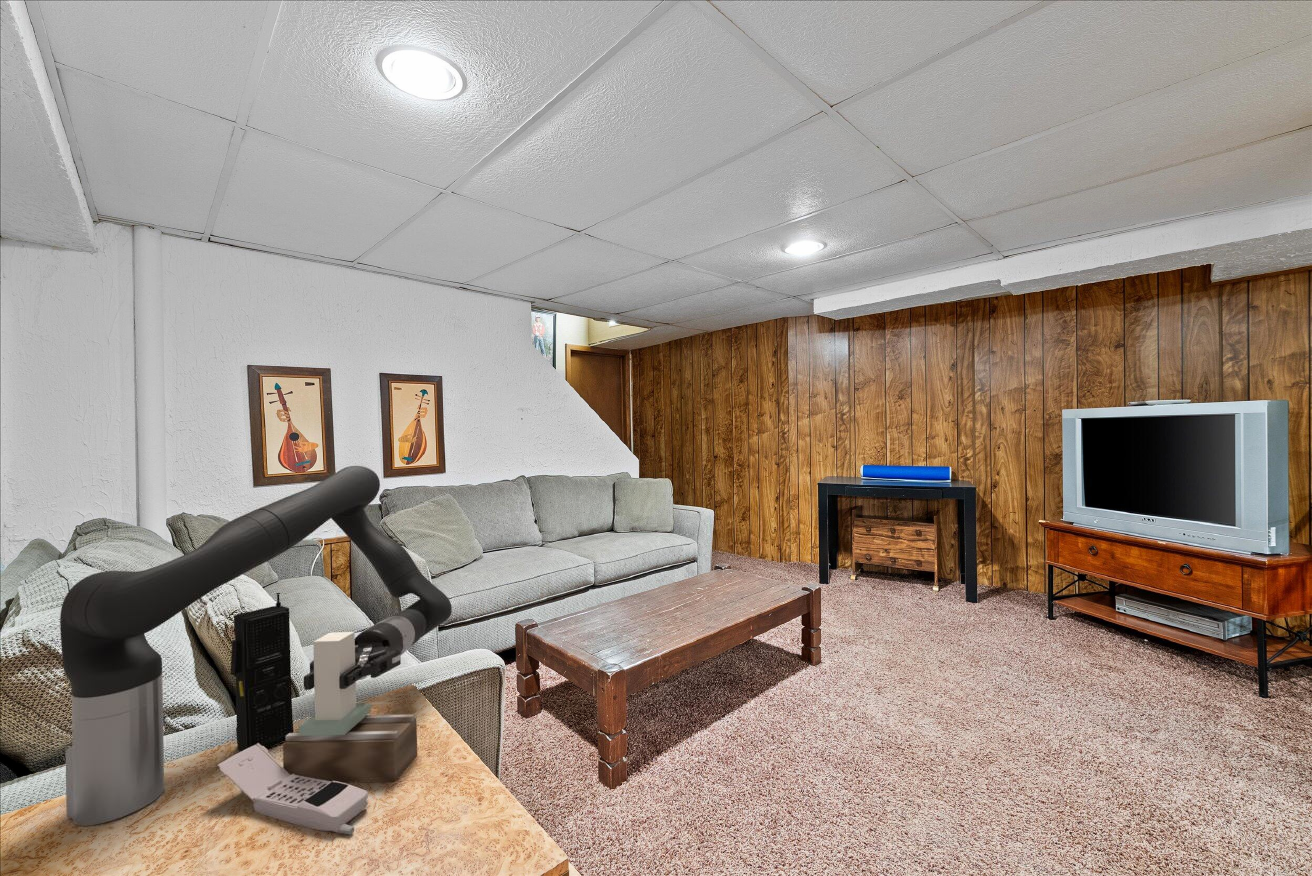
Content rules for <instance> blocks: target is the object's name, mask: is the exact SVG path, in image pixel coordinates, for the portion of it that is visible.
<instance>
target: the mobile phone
mask: <svg viewBox="0 0 1312 876" xmlns="http://www.w3.org/2000/svg"><path fill="white" fill-rule="evenodd" d="M217 766H218V767H219V769H220V771H221V773H223V774H224V775H226V776H227V777H228V779H229V780H230V781H231V782H232V783H233V784H234V785H235V786H237V788H238V789H240V790H241V791H242V793H244V794H245V795H246V796H247V797H248V798H249V799H250V800H251V801H252V802H253V808H254V810H255V812H256V813H257V814H260V815H264V816H267V817H270V818H273V819H277V820H280V821H282V822H287V823H289V824H290V823H291V824H294V825H297V826H299V827H300V826H301V827H304V828H307V829H308V828H309V829H312V830H317V831H321V832H335V833H337V834H346V835H352V834H353V833H354V832H355V827H354V826H352V825H348V824H347V823H348V822H349V821H350V820H352V819H353V818H355V817H356V816H357V815H359V814H360V813H361V812H362V811H364V810H365V809H366V808H367V806H368V803H369V801H368V796H369V795H368V791H367V790H365V789H363V788H360V787H357V786H356V785H351V784H350V783H342V782H337V781H332V782H331V781H326V780H320V779H314V778H309V777H303V776H298V775H294V774H291V775H290V774H289V773H288V772H287V771H286V770H285V769H284V768H283V766H282V765H281V764H280V763H279V762H278V761H277V760H276V759H275V757H273V755H272V754H270V753H269V750H268V749H266V748H265V747H264V746H261V745H260V744H259V743H258V744H256V745H254V746H252V747H249V748H247V749H245V750H243V751H239V752H238V753H236V754H234V755H232V756H230V757H229V758H227V759H225V760H224V761H222V762H220V763H218V764H217Z"/></svg>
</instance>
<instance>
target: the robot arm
mask: <svg viewBox="0 0 1312 876" xmlns="http://www.w3.org/2000/svg"><path fill="white" fill-rule="evenodd" d="M380 482H381V481H380V478H379V476H378V474H377V473H376V472H375V470H373V469H371V468H368V467H366V466H363V465H351V466H346V467H344V468H341V469H340V470H338V471H337V472H335V473H333V474H332V475H330V476H329V477H327V478H325V479H323V480H322V481H320V482H318V483H316V484H314V485H313V486H312V485H311V487H308V488H306V489H303V490H300V491H298V492H296V493H293V494H291V495H288V496H285V497H283V498H280V499H278V500H276V501H274V502H271V503H269V504H267V505H264V506H262V507H259V508H256V509H254V510H252V511H249V512H247V513H245V514H243V515H240V516H239V517H236V518H234V519H232V520H230V521H229V522H227V523H225V524H224V525H222V526H221V527H220V528H218V529H217V530H216V531H214V532H213V534H211V536H210V537H208V539H206V540H205V541H204V542H203V543H202V544H201V545H200V546H198V547H196V548H195V549H194V550H192V551H190V552H188V553H185V554H183V555H181V556H179V557H177V558H174V559H172V560H170V561H167V562H165V563H162V564H159V565H156V566H153V567H151V568H147V569H144V570H140V571H132V570H131V571H129V570H127V571H126V570H106V571H100V572H96V573H93V574H89V575H88V576H86V577H84V578H81V580H79V581H78V582H76V583H75V584H74V585H73V586H71V588H70V589H69V591H68V592H67V593H66V595H65V598H64V600H63V602H62V605H61V608H60V616H59V622H60V623H59V625H60V626H59V628H60V630H59V631H60V643H61V645H60V646H61V656H62V658H61V659H62V660H61V661H62V666H63V670H64V671H63V672H64V673H65V676H66V677H67V679H68V681H69V683H70V687H71V688H70V689H71V690H70V691H71V721H72V722H71V730H72V731H71V733H72V734H71V737H72V738H71V739H72V742H71V743H72V745H70V746H69V747H68V748H67V749H66V750H65V794H66V796H65V800H66V801H65V803H66V805H65V807H66V808H65V809H66V810H65V811H66V815H65V816H66V819H72V820H73V823H74V824H76V825H79V826H93V825H99V824H104V823H107V822H111V821H114V820H118V819H120V818H123V817H125V816H128V815H130V814H132V813H134V812H136V811H137V812H138V811H139V810H140V809H143V808H144V807H146V806H147V805H150V804H151V803H152V802H154V801H155V800H157V799H158V798H159V797H160V796H161V795H162V794H163V792H164V790H165V766H164V765H165V763H164V762H165V755H164V753H165V750H164V749H165V748H164V746H165V745H164V697H163V696H164V693H163V692H164V691H163V689H164V688H163V659H162V656H161V655H160V653H159V652H158V651H157V650H155V649H154V648H153V647H152V646H151V645H150V643H149V642H148V639H146V636H145V635H146V634H147V633H148V632H151V631H153V630H155V629H156V628H158V627H159V626H161V625H163V624H165V622H167V621H169V620H170V619H172V618H173V617H175V616H176V615H178V614H179V613H181V612H182V611H183V610H185V609H186V608H188V607H189V606H191V605H193V604H194V603H196V602H197V601H198V600H200V599H202V598H203V597H205V596H206V595H207V594H209V593H211V592H213V591H214V590H216V589H218V588H220V587H221V586H223V585H225V584H228V583H229V582H232V581H233V580H235V579H237V578H238V577H240V576H242V575H245V574H247V572H250V571H251V570H254V569H255V568H257V567H259V566H261V565H263V564H265V563H267V562H268V561H270V560H272V559H274V558H276V557H278V556H280V555H281V554H283V553H285V552H286V551H288V550H290V549H291V548H293V547H294V546H296V545H297V544H299V543H300V542H302V541H303V540H304V539H306V538H307V537H309V536H310V535H311V534H313V533H314V532H315V531H317V529H319V528H320V527H321V526H323V525H324V524H325V523H326V522H328V521H330V519H331V520H332V521H333V522H334V524H336V525H337V527H338V528H340V529H341V530H342V532H343V533H344V534H345V535H346V536H347V538H349V539H350V541H351V542H352V543H353V544H354V545H355V546H356V547H357V548H358V549H359V551H360V552H361V553H362V554H363V555H364V556H365V557H366V559H367V560H368V561H369V563H370V564H371V566H373V569H374V570H375V571H376V573H377V574H378V576H379V578H380V579H381V581H382V583H383V584H384V586H385V587H386V589H387V591H388V592H389V593H390V595H391V596H392V597H393V598H395V599H399V598H402V597H405V596H406V595H407V596H408V595H410V594H413V595H415V596H417V598H419V599H417V600H416V601H415V602H414V603H412V604H411V605H409V606H407V607H406V608H405V609H403V610H400V611H397V612H396V613H395V614H393V615H391V616H390V617H387V618H385V619H383V620H381V621H378V622H377V623H375V624H373V625H372V626H370V627H368V628H366V629H365V630H364V631H362V632H360V633H358V635H357V636H355V666H353V667H351V668H350V669H348V670H347V671H345V672H344V673H342V674H341V675H340V677H339V688H340V689H346V688H347V687H349V686H350V685H352V684H354V683H355V682H356V683H357V682H358V681H361V680H364V679H366V678H367V677H368V676H369V677H370V679H376V678H378V677H379V676H381V675H384V674H386V673H387V672H389V671H391V670H393V669H394V668H396V667H399V666H400V665H401V659H402V658H401V657H402V656H403V655H404V654H405V653H406V651H408V650H409V649H410V647H412V646H414V645H415V644H416V643H417V642H419V640H420V639H421V638H423V637H424V636H425V635H427V634H428V633H430V632H431V631H434V629H436V628H437V627H439V626H440V625H442V624H443V623H445V622H446V621H448V620H449V618H450V617H451V615H452V613H453V611H452V610H453V608H452V607H453V606H452V604H451V601H450V599H449V598H448V596H447V595H446V594H445V593H444V592H442V591H441V590H440V589H439V588H438V587H437V586H435V585H434V584H433V583H432V582H431V581H430V580H429V579H428V578H427V577H426V576H424V575H423V573H422V572H421V571H420V569H419V567H418V565H417V564H416V563H415V561H414V560H413V558H412V556H411V555H410V554H409V552H408V551H407V550H406V549H405V547H403V546H402V545H401V544H400V543H398V542H397V541H396V540H394V539H392V538H391V537H389V536H388V535H386V534H384V533H383V532H381V531H380V530H379V529H378V528H377V527H376V526H375V525H374V524H373V522H371V520H370V518H369V516H368V514H367V513H366V511H365V509H366V508H367V506H368V505H370V504H371V503H372V502H373V501H374V500H375V499H376V497H377V495H378V494H379V492H380V488H381V483H380ZM303 689H304V690H305V691H310V690H312V689H314V659H313V660H312V661H310V662H309V673H307V674H306V675H304V676H303Z"/></svg>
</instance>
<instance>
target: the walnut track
mask: <svg viewBox="0 0 1312 876" xmlns="http://www.w3.org/2000/svg"><path fill="white" fill-rule="evenodd" d="M417 723H418V722H417V717H416V715H415V714H414V713H413V714H377V715H376V714H368V715H367V716H365V717H364V718H363V719H362V720H361V721H360V722H359V723H357V724H356V725H355V726H354V727H353V728H352V729H351V730H349V731H348V732H347V733H346V734H345V735H313V736H299V731H297V732H293V733H289V734H288V735H286V741H284V742H282V762H283V763H282V765H283V766H282V767H283V768H284V769H285V770H286V771H287V772H288V773H289V774H290V775H291V774H294V775H298V776H303V777H309V778H314V779H320V780H326V781H331V782H332V781H337V782H342V783H346V784H350V783H354V784H355V783H392V782H393V783H394V782H396V781H397V780H398V779H399V777H400V776H401V775H402V774H403V772H405V770H406V769H407V768H408V767H409V765H411V763H412V762H413V761H414V760H415V758H416V757H417V756H418V735H417V734H418V728H417V727H418V726H417Z"/></svg>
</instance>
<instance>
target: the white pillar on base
mask: <svg viewBox="0 0 1312 876" xmlns="http://www.w3.org/2000/svg"><path fill="white" fill-rule="evenodd" d="M355 635H356V634H355V631H339V632H337V631H336V632H335V631H334V632H328V633H327V634H325V635H323V636H321V637H319V638H318V639H315V640H313V641H312V643H313V660H314V688H313V689H314V714H312V715H311V716H310V717H308V718H307V719H305V720H304V721H303V722H302V723H300V724H299V725H298V732H299V736H313V735H345V734H346V733H347V732H348V731H349V730H351V729H352V728H353V727H354V726H355V725H356V724H357V723H359V722H360V721H361V720H362V719H363V718H364V717H365V716H367V715H370V713H371V712H372V704H371V703H372V702H357V681H356V682H355V683H354V684H352V685H350V686H349V687H347V688H346V689H340V688H339V677H340V675H341V674H342V673H344V672H345V671H347V670H348V669H350V668H351V667H353V666H355V638H356V636H355Z"/></svg>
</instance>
